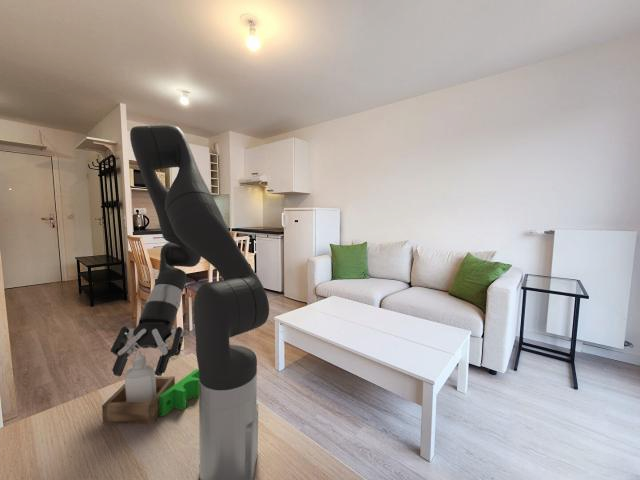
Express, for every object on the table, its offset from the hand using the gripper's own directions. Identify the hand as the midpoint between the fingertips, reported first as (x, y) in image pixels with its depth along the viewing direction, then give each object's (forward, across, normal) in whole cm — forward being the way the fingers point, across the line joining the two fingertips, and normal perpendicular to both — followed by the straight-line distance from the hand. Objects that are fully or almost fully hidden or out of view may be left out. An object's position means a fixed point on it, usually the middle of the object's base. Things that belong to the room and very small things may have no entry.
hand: (137, 375), depth 60 cm
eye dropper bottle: (+4, 0, +7) cm, 8 cm away
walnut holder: (+5, 0, +7) cm, 8 cm away
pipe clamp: (+4, +9, +8) cm, 13 cm away
